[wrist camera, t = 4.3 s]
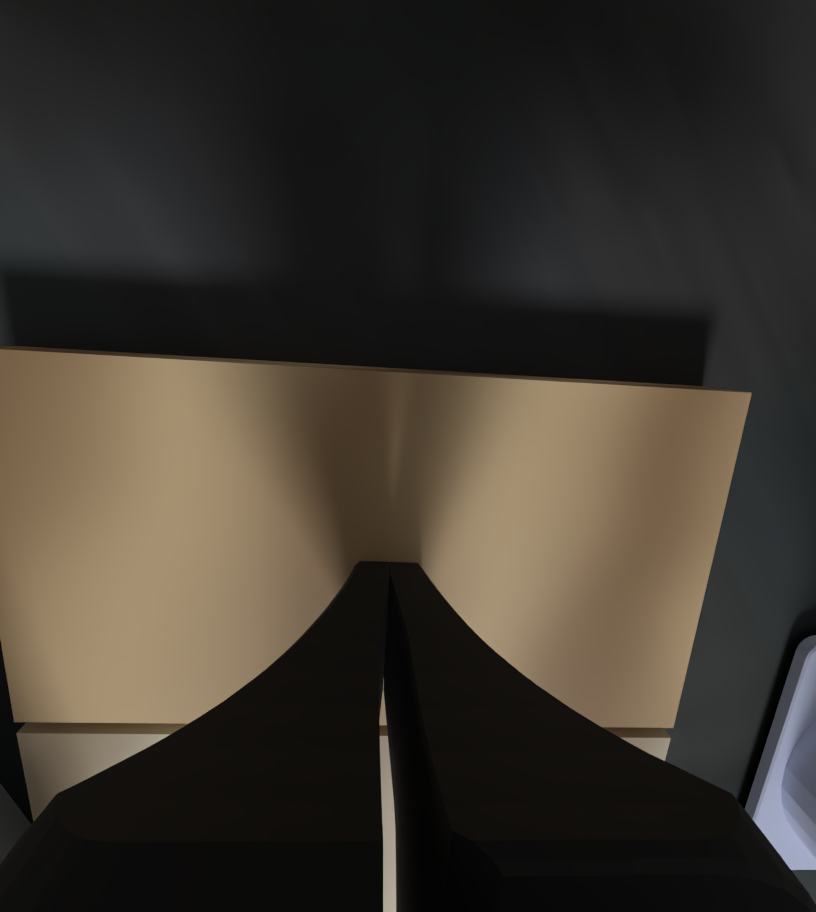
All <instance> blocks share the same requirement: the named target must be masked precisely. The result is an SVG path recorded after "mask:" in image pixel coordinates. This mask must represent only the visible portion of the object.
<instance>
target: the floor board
mask: <svg viewBox="0 0 816 912" xmlns="http://www.w3.org/2000/svg"><path fill="white" fill-rule="evenodd" d="M185 725H187V724H174V723H59V722H26V723H25V724H24V726H23V727H22V728H21V729H20V730H19V731H18V732H17V733H16V734H17V739H18V744H19V749H20V755H21V760H22V765H23V770H24V775H25V780H26V786H27V791H28V796H29V801H30V806H31V812H32V817H33V822H34V821H35V820H36V818H37V817H38V816H39V815H40V814H41V813H42V811H43V810H44V809H45V808H46V806H47V805H48V804H49V803H50V801H51V800H52V799H53V797H54V796H55V795H56V794H57V793H59V792H61V791H63V790H65V789H68V788H70V787H72V786H74V785H76V784H78V783H80V782H82V781H84V780H86V779H88V778H90V777H92V776H94V775H95V774H97V773H99V772H101V771H103V770H105V769H107V768H109V767H111V766H113V765H115V764H117V763H119V762H121V761H123V760H125V759H126V758H128V757H130V756H132V755H134V754H136V753H138V752H140V751H142V750H144V749H146V748H148V747H149V746H151V745H153V744H155V743H156V742H158V741H160V740H162V739H164V738H165V737H167V736H169V735H170V734H172V733H174V732H175V731H177V730H179V729H180V728H182V727H184V726H185ZM603 728H604V729H606V730H608V731H610V732H611V733H613V734H615V735H617V736H618V737H620V738H622V739H624V740H625V741H627V742H629V743H631V744H632V745H634V746H636V747H638V748H640V749H641V750H643V751H645V752H647V753H649V754H651V755H653V756H655V757H657V758H659V759H661V760H663V761H665V758H666V754H667V750H668V747H669V743H670V739H671V738H670V736H669V735H668V733H667V732H666V731H665V729H664V728H635V727H603ZM380 766H381V798H382V824H383V912H396V833H395V813H394V798H393V787H392V776H391V765H390V755H389V744H388V733H387V725H380Z"/></svg>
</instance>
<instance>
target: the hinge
mask: <svg viewBox="0 0 816 912" xmlns="http://www.w3.org/2000/svg"><path fill="white" fill-rule="evenodd" d="M30 826H31V823H30V822H29V821H28V819H27V818H26V817H25V815H24V814H23V813H22V811H21V810H20V809H19V807H18V806H17V805H16V803H15V802H14V801H13V799H12V798H11V797H10V795H9V794H8V793H7V792H6V790H5V789H4V788H3V786H2V785H1V784H0V864H1V862H2V861H3V860H4V858H5V857H6V856H7V854H8V853H9V852H10V850H11V849H12V848H13V846H14V845H15V844H16V842H17V841H18V840H19V839H20V838H21V836H22V835H23V834H24V833H25V832H26V830H27V829H28V828H29V827H30Z"/></svg>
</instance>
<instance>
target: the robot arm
mask: <svg viewBox="0 0 816 912" xmlns="http://www.w3.org/2000/svg"><path fill="white" fill-rule="evenodd" d="M383 679H384V700H385V711H386V722H387V733H388V744H389V755H390V765H391V776H392V787H393V798H394V813H395V833H396V912H816V905H815V903H814V901H813V900H812V898H811V896H810V895H809V893H808V892H807V891H806V889H805V888H804V887H803V885H802V884H801V883H800V881H799V880H798V879H797V877H796V876H795V875H794V873H793V872H792V871H791V870H816V635H813V636H809V637H807V638H805V639H804V640H803V641H802V642H800V643H799V645H798V647H797V649H796V651H795V654H794V657H793V661H792V664H791V667H790V670H789V673H788V676H787V679H786V682H785V685H784V688H783V691H782V695H781V698H780V701H779V704H778V707H777V710H776V713H775V716H774V719H773V722H772V726H771V729H770V732H769V735H768V738H767V741H766V744H765V747H764V750H763V753H762V757H761V760H760V763H759V766H758V769H757V772H756V775H755V778H754V781H753V784H752V788H751V791H750V794H749V797H748V800H747V803H746V806H745V809H744V808H743V807H742V806H741V804H740V803H739V802H738V801H737V800H736V798H735V797H734V796H733V795H732V794H731V793H729V792H727V791H725V790H723V789H721V788H719V787H717V786H715V785H713V784H711V783H709V782H707V781H705V780H702V779H700V778H698V777H696V776H694V775H692V774H690V773H688V772H686V771H684V770H682V769H680V768H678V767H676V766H674V765H672V764H670V763H668V762H666V761H663V760H661V759H659V758H657V757H655V756H653V755H651V754H649V753H647V752H645V751H643V750H641V749H640V748H638V747H636V746H634V745H632V744H631V743H629V742H627V741H625V740H624V739H622V738H620V737H618V736H617V735H615V734H613V733H611V732H610V731H608V730H606V729H604V728H603V727H601V726H599V725H597V724H596V723H594V722H592V721H591V720H589V719H587V718H586V717H584V716H583V715H581V714H579V713H578V712H576V711H575V710H573V709H571V708H570V707H568V706H567V705H565V704H564V703H563V702H561V701H560V700H558V699H557V698H555V697H554V696H552V695H551V694H549V693H548V692H547V691H545V690H544V689H542V688H541V687H539V686H538V685H536V684H535V683H534V682H532V681H531V680H530V679H528V678H527V677H526V676H524V675H523V674H522V673H521V672H519V671H518V670H517V669H516V668H515V667H513V666H512V665H511V664H510V663H508V662H507V661H506V660H505V659H504V658H502V657H501V656H500V655H499V654H498V653H496V652H495V651H494V650H493V649H492V648H491V647H490V646H489V645H488V644H486V643H485V642H484V641H483V640H482V639H481V638H480V637H479V636H478V635H477V634H476V633H475V632H474V631H473V630H472V629H471V628H470V627H469V626H468V625H467V623H466V622H465V621H464V620H463V619H462V618H461V617H460V616H459V615H458V613H457V612H456V611H455V610H454V609H453V607H452V606H451V605H450V604H449V603H448V602H447V600H446V599H445V598H444V597H443V595H442V594H441V593H440V592H439V590H438V589H437V588H436V586H435V585H434V584H433V582H432V581H431V580H430V578H429V577H428V575H427V574H426V573H425V571H424V570H423V568H422V567H421V566H420V565H419V564H418V563H408V562H380V561H359V562H358V563H357V564H356V565H355V566H354V568H353V570H352V572H351V574H350V575H349V577H348V579H347V580H346V582H345V583H344V585H343V586H342V588H341V589H340V591H339V592H338V593H337V595H336V596H335V597H334V599H333V600H332V601H331V602H330V604H329V605H328V606H327V608H326V609H325V610H324V611H323V613H322V614H321V615H320V616H319V617H318V618H317V619H316V620H315V622H314V623H313V624H312V625H311V626H310V627H309V628H308V629H307V630H306V631H305V633H304V634H303V635H302V636H301V637H300V638H299V639H298V640H297V641H296V642H295V643H294V644H293V645H292V646H291V647H290V648H289V649H288V650H287V651H286V652H285V653H283V654H282V655H281V656H280V657H279V658H278V659H277V660H276V661H275V662H273V663H272V664H271V665H270V666H269V667H268V668H267V669H265V670H264V671H263V672H262V673H260V674H259V675H258V676H257V677H255V678H254V679H253V680H251V681H250V682H249V683H247V684H246V685H245V686H243V687H242V688H241V689H239V690H238V691H237V692H235V693H234V694H233V695H231V696H230V697H229V698H227V699H226V700H224V701H223V702H222V703H220V704H219V705H217V706H215V707H214V708H212V709H211V710H209V711H208V712H206V713H205V714H203V715H202V716H200V717H198V718H197V719H195V720H194V721H192V722H190V723H189V724H187V725H185V726H184V727H182V728H180V729H179V730H177V731H175V732H174V733H172V734H170V735H169V736H167V737H165V738H164V739H162V740H160V741H158V742H156V743H155V744H153V745H151V746H149V747H148V748H146V749H144V750H142V751H140V752H138V753H136V754H134V755H132V756H130V757H128V758H126V759H125V760H123V761H121V762H119V763H117V764H115V765H113V766H111V767H109V768H107V769H105V770H103V771H101V772H99V773H97V774H95V775H94V776H92V777H90V778H88V779H86V780H84V781H82V782H80V783H78V784H76V785H74V786H72V787H70V788H68V789H65V790H63V791H61V792H59V793H57V794H56V795H55V796H54V797H53V799H52V800H51V801H50V803H49V804H48V805H47V806H46V808H45V809H44V810H43V811H42V813H41V814H40V815H39V816H38V817H37V818H36V820H35V821H34V822H33V823H32V824H31V826H30V827H29V828H28V829H27V830H26V832H25V833H24V834H23V835H22V836H21V838H20V839H19V840H18V841H17V842H16V844H15V845H14V846H13V848H12V849H11V850H10V852H9V853H8V854H7V856H6V857H5V858H4V860H3V861H2V862H1V864H0V912H383V824H382V798H381V766H380V723H379V719H380V710H381V701H382V692H383Z"/></svg>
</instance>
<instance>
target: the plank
mask: <svg viewBox="0 0 816 912" xmlns="http://www.w3.org/2000/svg"><path fill="white" fill-rule="evenodd" d="M751 394H752V393H750V392H742V391H735V390H727V389H720V388H712V387H705V386H691V385H674V384H656V383H639V382H622V381H605V380H588V379H571V378H554V377H537V376H520V375H503V374H486V373H469V372H452V371H435V370H417V369H400V368H383V367H366V366H349V365H332V364H315V363H298V362H281V361H264V360H247V359H230V358H213V357H195V356H178V355H161V354H144V353H127V352H110V351H93V350H76V349H59V348H42V347H25V346H0V640H1V646H2V652H3V658H4V664H5V670H6V676H7V682H8V688H9V694H10V700H11V706H12V712H13V718H14V722H59V723H174V724H189V723H190V722H192V721H194V720H195V719H197V718H198V717H200V716H202V715H203V714H205V713H206V712H208V711H209V710H211V709H212V708H214V707H215V706H217V705H219V704H220V703H222V702H223V701H224V700H226V699H227V698H229V697H230V696H231V695H233V694H234V693H235V692H237V691H238V690H239V689H241V688H242V687H243V686H245V685H246V684H247V683H249V682H250V681H251V680H253V679H254V678H255V677H257V676H258V675H259V674H260V673H262V672H263V671H264V670H265V669H267V668H268V667H269V666H270V665H271V664H272V663H273V662H275V661H276V660H277V659H278V658H279V657H280V656H281V655H282V654H283V653H285V652H286V651H287V650H288V649H289V648H290V647H291V646H292V645H293V644H294V643H295V642H296V641H297V640H298V639H299V638H300V637H301V636H302V635H303V634H304V633H305V631H306V630H307V629H308V628H309V627H310V626H311V625H312V624H313V623H314V622H315V620H316V619H317V618H318V617H319V616H320V615H321V614H322V613H323V611H324V610H325V609H326V608H327V606H328V605H329V604H330V602H331V601H332V600H333V599H334V597H335V596H336V595H337V593H338V592H339V591H340V589H341V588H342V586H343V585H344V583H345V582H346V580H347V579H348V577H349V575H350V574H351V572H352V570H353V568H354V566H355V565H356V564H357V563H358V562H359V561H380V562H408V563H418V564H419V565H420V566H421V567H422V568H423V570H424V571H425V573H426V574H427V575H428V577H429V578H430V580H431V581H432V582H433V584H434V585H435V586H436V588H437V589H438V590H439V592H440V593H441V594H442V595H443V597H444V598H445V599H446V600H447V602H448V603H449V604H450V605H451V606H452V607H453V609H454V610H455V611H456V612H457V613H458V615H459V616H460V617H461V618H462V619H463V620H464V621H465V622H466V623H467V625H468V626H469V627H470V628H471V629H472V630H473V631H474V632H475V633H476V634H477V635H478V636H479V637H480V638H481V639H482V640H483V641H484V642H485V643H486V644H488V645H489V646H490V647H491V648H492V649H493V650H494V651H495V652H496V653H498V654H499V655H500V656H501V657H502V658H504V659H505V660H506V661H507V662H508V663H510V664H511V665H512V666H513V667H515V668H516V669H517V670H518V671H519V672H521V673H522V674H523V675H524V676H526V677H527V678H528V679H530V680H531V681H532V682H534V683H535V684H536V685H538V686H539V687H541V688H542V689H544V690H545V691H547V692H548V693H549V694H551V695H552V696H554V697H555V698H557V699H558V700H560V701H561V702H563V703H564V704H565V705H567V706H568V707H570V708H571V709H573V710H575V711H576V712H578V713H579V714H581V715H583V716H584V717H586V718H587V719H589V720H591V721H592V722H594V723H596V724H597V725H599V726H601V727H635V728H673V727H674V723H675V718H676V714H677V710H678V706H679V701H680V697H681V693H682V689H683V684H684V680H685V676H686V671H687V667H688V663H689V659H690V654H691V650H692V646H693V642H694V637H695V633H696V629H697V624H698V620H699V616H700V612H701V607H702V603H703V599H704V594H705V590H706V586H707V582H708V577H709V573H710V569H711V565H712V560H713V556H714V552H715V547H716V543H717V539H718V535H719V530H720V526H721V522H722V518H723V513H724V509H725V505H726V500H727V496H728V492H729V488H730V483H731V479H732V475H733V471H734V466H735V462H736V458H737V453H738V449H739V445H740V441H741V436H742V432H743V428H744V424H745V419H746V415H747V411H748V406H749V402H750V398H751ZM379 723H380V725H387V722H386V711H385V700H384V679H383V692H382V701H381V710H380V719H379Z"/></svg>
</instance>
